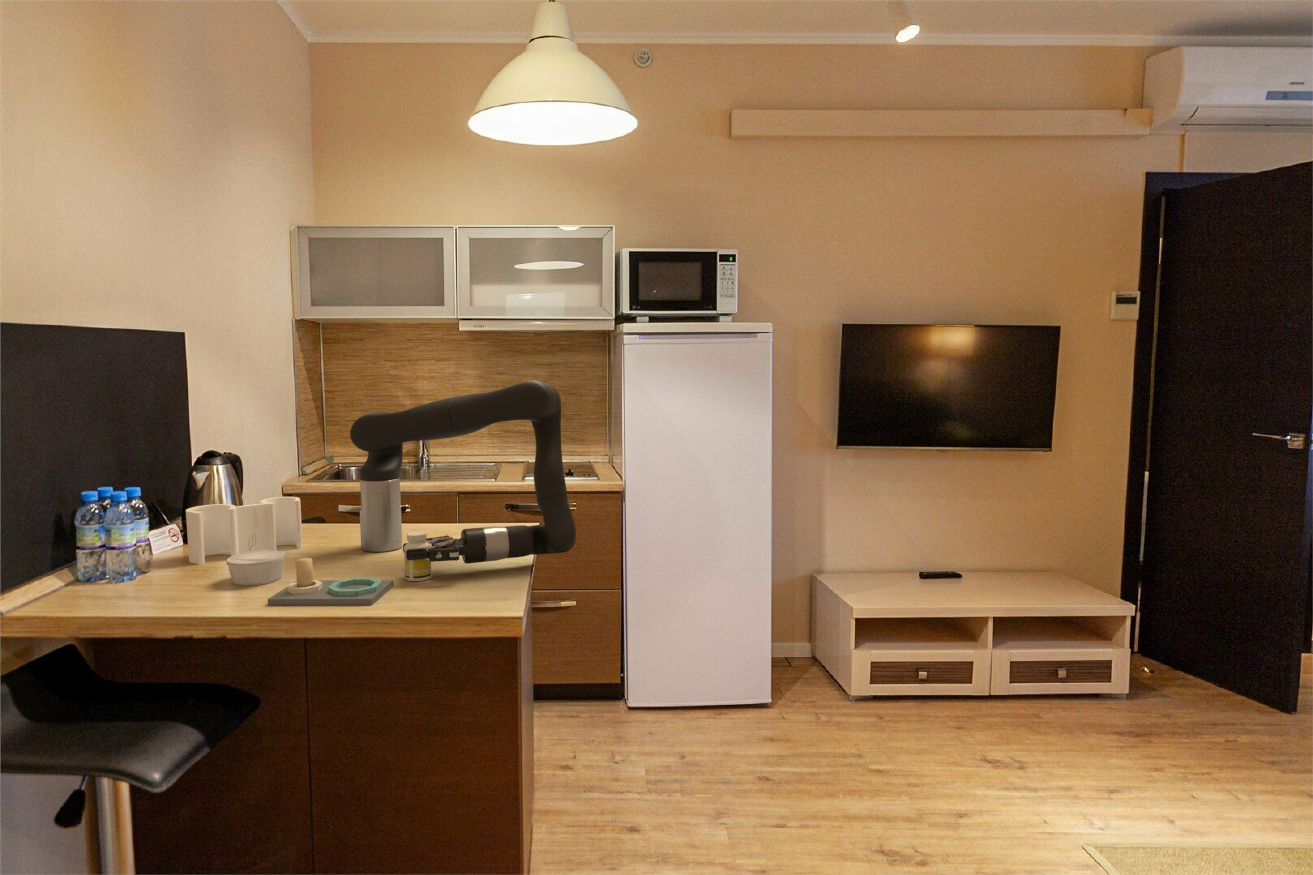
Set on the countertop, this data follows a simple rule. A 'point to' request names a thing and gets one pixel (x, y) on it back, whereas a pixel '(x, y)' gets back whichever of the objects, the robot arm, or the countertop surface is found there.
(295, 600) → the socket board
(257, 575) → the ramekin
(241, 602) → the countertop surface
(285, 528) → the bracket
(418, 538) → the supplement bottle
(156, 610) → the countertop surface
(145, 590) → the countertop surface
